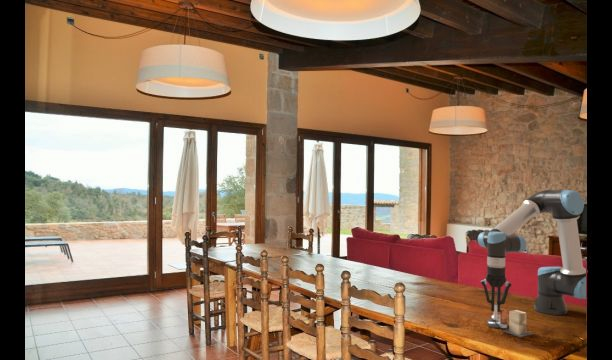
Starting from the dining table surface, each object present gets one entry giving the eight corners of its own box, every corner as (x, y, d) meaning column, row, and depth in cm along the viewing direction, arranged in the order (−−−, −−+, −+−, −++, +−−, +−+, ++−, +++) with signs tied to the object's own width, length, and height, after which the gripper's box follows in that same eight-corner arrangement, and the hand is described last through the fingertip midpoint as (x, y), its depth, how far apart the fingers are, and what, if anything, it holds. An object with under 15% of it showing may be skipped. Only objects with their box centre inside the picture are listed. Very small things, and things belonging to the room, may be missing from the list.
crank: (490, 318, 212) (490, 301, 212) (501, 319, 211) (501, 302, 211) (499, 329, 197) (498, 310, 197) (510, 329, 196) (510, 311, 196)
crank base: (495, 321, 215) (495, 317, 215) (511, 326, 207) (511, 322, 207) (482, 324, 211) (482, 320, 211) (498, 329, 203) (498, 325, 203)
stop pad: (515, 328, 205) (515, 327, 205) (533, 334, 197) (533, 333, 197) (502, 331, 201) (502, 330, 201) (519, 337, 193) (519, 336, 193)
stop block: (516, 329, 203) (516, 309, 203) (526, 332, 198) (526, 312, 198) (509, 331, 200) (509, 311, 200) (518, 334, 196) (518, 314, 196)
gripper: (481, 266, 198) (480, 319, 197) (513, 268, 194) (512, 322, 194) (480, 263, 205) (479, 315, 205) (510, 265, 201) (509, 318, 201)
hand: (495, 318), depth 199 cm, fingers closed
